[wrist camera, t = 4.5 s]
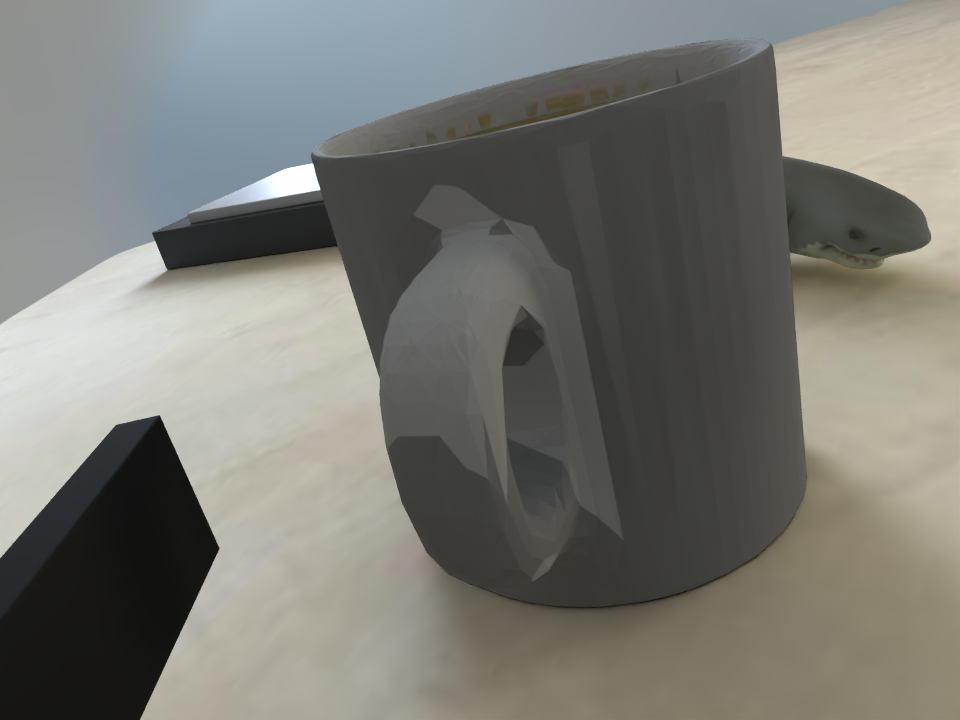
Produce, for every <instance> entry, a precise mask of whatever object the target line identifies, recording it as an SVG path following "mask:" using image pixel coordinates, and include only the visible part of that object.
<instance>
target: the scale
mask: <svg viewBox="0 0 960 720" xmlns="http://www.w3.org/2000/svg"><path fill="white" fill-rule="evenodd" d="M187 215H188V217H186V218H183V219H181V220H179V221H177V222H175V223H172V224H170V225H168V226H166V227H164V228H162V229H159V230H157V231H155V232H153V233H152V234H153V236H154V239H155V241H156V244H157V246H158V249H159V251H160V254H161V256H162V258H163V261H164V263H165V266H166V268H167V269H174V268H181V267H188V266H195V265H202V264H209V263H216V262H223V261H230V260H237V259H244V258H251V257H258V256H266V255H273V254H280V253H287V252H294V251H301V250H308V249H315V248H322V247H329V246H336V245H338V244H337V241H336V238H335V235H334V232H333V229H332V225H331V222H330V219H329V216H328V213H327V210H326V206H325V203H324V200H323V197H322V194H321V191H320V187H319V184H318V181H317V178H316V174H315V170H314V166H313V164H308V165H303V166H298V167H293V168H288V169H285V170H282V171H280V172H278V173H276V174H273V175H271V176H269V177H267V178H265V179H262V180H260V181H258V182H256V183H253V184H251V185H249V186H247V187H245V188H243V189H240V190H237V191H235V192H233V193H231V194H229V195H226V196H224V197H222V198H219V199H217V200H215V201H213V202H211V203H208V204H206V205H204V206H202V207H200V208H197V209H196V210H193V211H191V212H189V213H187Z"/></svg>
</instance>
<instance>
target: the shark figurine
mask: <svg viewBox="0 0 960 720" xmlns="http://www.w3.org/2000/svg"><path fill="white" fill-rule="evenodd" d="M782 158H783V172H784V185H785V198H786V211H787V224H788V237H789V251H790V253H795V254H800V255H804V256H808V257H813V258H823V259H828V260H830V261H833V262H836V263H838V264H841V265H843V266H846V267H850V268H855V269H874V268H877V267H880V266H881V265H882V263H883V261H884V259H885V258H888V257H891V256H894V255H898V254H903V253H907V252H912V251H915V250H917V249H920V248H922V247H924V246H925V245H927V244H928V243H929V242H930V240H931V233H930V231H929V228H928V225H927V221H926V217H925V215H924V213H923V212H922V210H921V209H920V208H919V207H918V206H917V205H916V204H915V203H914V202H912V201H911V200H909V199H908V198H907V197H905V196H903V195H901V194H899V193H897V192H895V191H893V190H891V189H889V188H887V187H885V186H883V185H880V184H878V183H876V182H873V181H871V180H868V179H866V178H863V177H861V176H858V175H856V174H853V173H850V172H847V171H844V170H841V169H837V168H833V167H830V166H826V165H822V164H818V163H813V162H809V161H805V160H800V159H795V158H790V157H784V156H782Z"/></svg>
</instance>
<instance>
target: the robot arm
mask: <svg viewBox="0 0 960 720" xmlns="http://www.w3.org/2000/svg"><path fill="white" fill-rule="evenodd" d="M218 551H219V546H218V544H217V542H216V540H215V537H214V535H213V533H212V531H211V528H210V526H209V524H208V522H207V519H206V517H205V515H204V513H203V511H202V508H201V506H200V504H199V502H198V499H197V497H196V495H195V493H194V491H193V488H192V486H191V484H190V482H189V479H188V477H187V475H186V473H185V471H184V468H183V466H182V464H181V462H180V459H179V457H178V455H177V453H176V450H175V448H174V446H173V444H172V442H171V439H170V437H169V435H168V433H167V430H166V428H165V426H164V424H163V422H162V419H161V417H160V415H159V416H154V417H150V418H145V419H141V420H136V421H132V422H127V423H123V424H118V425H116V426H115V427H114V428H113V429H112V430H111V431H110V433H109V434H108V435H107V436H106V437H105V438H104V440H103V441H102V442H101V443H100V444H99V445H98V446H97V448H96V449H95V450H94V451H93V452H92V453H91V454H90V456H89V457H88V458H87V459H86V460H85V461H84V463H83V464H82V465H81V466H80V467H79V468H78V469H77V471H76V472H75V473H74V474H73V475H72V476H71V478H70V479H69V480H68V481H67V482H66V483H65V484H64V486H63V487H62V488H61V489H60V490H59V491H58V492H57V494H56V495H55V496H54V497H53V498H52V499H51V501H50V502H49V503H48V504H47V505H46V506H45V507H44V509H43V510H42V511H41V512H40V513H39V514H38V516H37V517H36V518H35V519H34V520H33V521H32V522H31V524H30V525H29V526H28V527H27V528H26V529H25V531H24V532H23V533H22V534H21V535H20V536H19V537H18V539H17V540H16V541H15V542H14V543H13V544H12V545H11V547H10V548H9V549H8V550H7V551H6V552H5V554H4V555H3V556H2V557H1V558H0V720H140V718H141V716H142V714H143V712H144V710H145V707H146V705H147V703H148V701H149V699H150V697H151V695H152V692H153V690H154V688H155V686H156V684H157V682H158V680H159V677H160V675H161V673H162V671H163V669H164V667H165V664H166V662H167V660H168V658H169V656H170V654H171V652H172V649H173V647H174V645H175V643H176V641H177V639H178V637H179V634H180V632H181V630H182V628H183V626H184V624H185V621H186V619H187V617H188V615H189V613H190V611H191V609H192V606H193V604H194V602H195V600H196V598H197V596H198V594H199V591H200V589H201V587H202V585H203V583H204V581H205V579H206V576H207V574H208V572H209V570H210V568H211V566H212V563H213V561H214V559H215V557H216V555H217V553H218Z"/></svg>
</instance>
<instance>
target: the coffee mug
mask: <svg viewBox="0 0 960 720" xmlns="http://www.w3.org/2000/svg"><path fill="white" fill-rule="evenodd" d="M311 158H312V162H313V166H314V170H315V174H316V178H317V181H318V184H319V187H320V191H321V194H322V197H323V200H324V203H325V206H326V210H327V213H328V216H329V219H330V222H331V225H332V229H333V232H334V235H335V238H336V241H337V244H338V248H339V251H340V254H341V257H342V260H343V263H344V267H345V270H346V273H347V276H348V279H349V283H350V286H351V289H352V292H353V295H354V298H355V302H356V305H357V308H358V311H359V314H360V317H361V321H362V324H363V327H364V330H365V333H366V336H367V340H368V343H369V346H370V349H371V352H372V355H373V359H374V362H375V365H376V368H377V371H378V374H379V378H380V394H379V395H380V407H381V414H382V421H383V428H384V435H385V442H386V448H387V452H388V455H389V459H390V462H391V466H392V469H393V473H394V476H395V480H396V483H397V487H398V490H399V494H400V497H401V501H402V504H403V506H404V508H405V510H406V512H407V514H408V516H409V518H410V520H411V522H412V524H413V526H414V528H415V530H416V532H417V534H418V536H419V538H420V540H421V542H422V544H423V546H424V548H425V550H426V552H427V553H428V554H429V555H430V556H431V557H432V558H433V559H434V560H435V561H436V562H437V563H438V564H439V565H440V566H441V567H442V568H443V569H444V570H445V571H446V572H447V573H448V574H449V575H451V576H453V577H455V578H457V579H460V580H462V581H464V582H467V583H469V584H471V585H477V586H479V587H482V588H484V589H487V590H489V591H492V592H494V593H497V594H500V595H503V596H506V597H510V598H513V599H517V600H520V601H525V602H531V603H537V604H544V605H552V606H566V607H603V606H612V605H620V604H629V603H637V602H645V601H649V600H653V599H658V598H662V597H666V596H669V595H673V594H676V593H680V592H683V591H687V590H690V589H693V588H695V587H698V586H700V585H702V584H704V583H707V582H709V581H711V580H713V579H716V578H718V577H720V576H722V575H725V574H727V573H728V572H730V571H732V570H733V569H735V568H737V567H738V566H740V565H742V564H743V563H745V562H747V561H748V560H750V559H752V558H753V557H755V556H757V555H758V554H759V553H760V552H761V551H763V550H764V549H765V548H766V547H767V546H768V545H769V544H770V543H771V542H772V541H773V540H774V539H775V538H776V537H777V536H778V535H779V534H780V533H781V532H782V531H784V530H785V529H786V527H787V526H788V524H789V523H790V521H791V520H792V518H793V516H794V514H795V512H796V510H797V508H798V506H799V504H800V502H801V500H802V498H803V496H804V492H805V487H806V478H807V477H806V461H805V448H804V435H803V422H802V409H801V396H800V382H799V369H798V356H797V343H796V330H795V317H794V303H793V290H792V277H791V264H790V251H789V237H788V224H787V211H786V198H785V185H784V172H783V158H782V145H781V132H780V119H779V106H778V92H777V79H776V67H775V59H774V51H773V47H772V45H771V43H770V42H769V41H766V40H764V39H757V38H743V39H727V40H717V41H708V42H700V43H692V44H686V45H680V46H674V47H667V48H662V49H656V50H651V51H645V52H640V53H634V54H629V55H623V56H618V57H613V58H608V59H604V60H599V61H594V62H589V63H585V64H580V65H576V66H571V67H567V68H562V69H557V70H553V71H549V72H545V73H540V74H536V75H532V76H528V77H524V78H520V79H516V80H512V81H508V82H504V83H500V84H496V85H492V86H488V87H484V88H481V89H477V90H474V91H470V92H466V93H463V94H459V95H456V96H452V97H449V98H445V99H442V100H438V101H435V102H431V103H428V104H425V105H421V106H418V107H415V108H412V109H409V110H405V111H402V112H399V113H396V114H393V115H390V116H387V117H384V118H381V119H378V120H375V121H372V122H370V123H367V124H364V125H361V126H359V127H356V128H354V129H351V130H349V131H346V132H344V133H342V134H339V135H337V136H334V137H332V138H330V139H329V140H327V141H325V142H323V143H321V144H319V145H318V146H317V147H316V148H315V149H314V150H313V151H312V154H311Z"/></svg>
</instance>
